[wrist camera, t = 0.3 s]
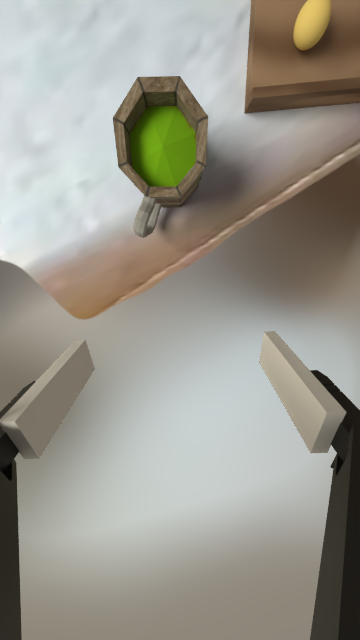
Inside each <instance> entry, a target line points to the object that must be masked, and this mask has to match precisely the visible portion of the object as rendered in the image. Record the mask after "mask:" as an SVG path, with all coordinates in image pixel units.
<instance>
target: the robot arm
mask: <svg viewBox="0 0 360 640" xmlns="http://www.w3.org/2000/svg"><path fill="white" fill-rule="evenodd" d="M260 364H261V366H262V368H263V370H264V371H265V373H266V375H267V377H268V378H269V380H270V382H271V384H272V386H273V387H274V389H275V391H276V393H277V394H278V396H279V398H280V400H281V401H282V403H283V405H284V407H285V409H286V410H287V412H288V414H289V416H290V417H291V419H292V421H293V422H294V424H295V426H296V428H297V430H298V431H299V433H300V435H301V437H302V438H303V440H304V442H305V444H306V445H307V447H308V449H309V451H310V453H327V452H328V450H329V448H330V446H331V445H332V446H333V448H334V449H335V451H336V452H337V455H336V457H335V459H334V461H333V463H332V465H331V468H334V470H333V477H332V484H331V492H330V500H329V506H328V513H327V520H326V528H325V535H324V542H323V550H322V558H321V564H320V571H319V579H318V587H317V594H316V601H315V608H314V616H313V622H312V629H311V637H310V640H360V410H359V409H358V408H357V407H356V406H355V405H354V404H353V403H352V402H351V401H350V400H349V399H348V398H347V397H346V396H345V395H344V394H343V393H342V392H340V390H339V389H338V387H337V386H336V385H334V383H333V382H332V381H331V380H330V379H329V378H328V377H327V376H325V375H323V374H322V373H321V372H319V371H317V370H313V371H310V370H309V369H308V368H307V367H306V366H305V365H304V364H303V362H302V361H301V360H300V359H299V358H298V357H297V356H296V355H295V353H294V352H293V351H292V350H291V349H290V348H289V347H288V345H286V343H285V342H284V341H283V340H282V339H281V338H280V336H279V335H278V334H277V333H276V332H275V331H273V332H264V336H263V343H262V350H261V356H260ZM93 371H94V365H93V362H92V359H91V356H90V353H89V349H88V346H87V343H86V340H75V341H74V342H73V343H72V344H71V345H70V346H69V348H67V349H66V351H65V352H64V353H63V354H62V355H61V356H60V357H59V358H58V359H57V360H56V361H55V362H54V363H53V364H52V365H51V366H50V367H49V368H48V370H47V371H46V372H45V373H44V374H43V375H42V376H41V377H40V378H39V379H38V380H37V381H33V382H32V383H30V384H29V385H27V386H26V387H25V388H23V389H22V391H20V392H19V393H18V395H17V397H15V398H14V399H13V400H12V401H11V403H9V404H8V405H7V406H6V407H5V408H4V409H3V410H2V411H1V412H0V640H21V608H20V575H19V544H18V543H19V539H18V508H17V507H18V506H17V475H16V474H17V473H16V462H15V460H14V458H15V457H16V455H17V454H18V452H20V454H21V455H22V456H23V458H24V459H39V458H40V456H41V455H42V453H43V451H44V450H45V448H46V447H47V445H48V443H49V442H50V440H51V438H52V437H53V435H54V434H55V432H56V431H57V429H58V427H59V425H60V424H61V422H62V421H63V419H64V418H65V416H66V414H67V413H68V411H69V410H70V407H71V406H72V405H73V403H74V402H75V400H76V398H77V397H78V395H79V393H80V391H81V390H82V389H83V387H84V385H85V384H86V382H87V381H88V379H89V377H90V376H91V374H92V372H93Z"/></svg>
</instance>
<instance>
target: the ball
mask: <svg viewBox="0 0 360 640" xmlns="http://www.w3.org/2000/svg"><path fill="white" fill-rule="evenodd" d="M330 16H331V0H307V2H306V3H305V4H304V5H303V7H302V9H301V10H300V12H299V14H298V17H297V19H296V22H295V26H294V33H293V38H294V43H295V45H296V47H297V48H298V49H300V50H308V49H310V48H311V47H313V46H314V45H315V44H316V43H317V42H318V41H319V40H320V38H321V37H322V35H323V34H324V32H325V30H326V28H327V26H328V23H329V20H330Z"/></svg>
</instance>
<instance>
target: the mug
mask: <svg viewBox="0 0 360 640" xmlns="http://www.w3.org/2000/svg"><path fill="white" fill-rule="evenodd" d="M113 123H114V132H115V140H116V149H117V157H118V166H119V168H120V169H121V170H122V171H123V172H124V174H125V175H126V176H127V177H128V178H129V179H130V180H131V181H132V182H133V183H134V184H135V185H136V187H137V188H138V189H139V190H140V191H141V192H142V193H143V194H144V198H143V201H142V204H141V206H140V208H139V210H138V212H137V215H136V218H135V222H134V228H133V229H134V231H135V233H136V235H138V236H139V237H143V238H144V237H146V236H147V235H149V234H151V233H152V232H153V231H154V229H155V226H156V223H157V219H158V216H159V212H160V209H161V207H181V206H182V205H183V204H184V203H185V202H186V201H187V199H188V198H189V197H190V196H191V195H192V194H193V192H194V191H195V190H196V189H197V188H198V182H199V180H200V179H201V173H202V170H203V169H204V168H205V167H206V152H207V128H208V116H207V114H206V113H205V112H204V110H203V109H202V107H201V106H200V104H199V103H198V102H197V100H196V99H195V97H194V96H193V94H192V93H191V92H190V90H189V89H188V87H187V86H186V84H185V83H184V82H183V80H182V79H181V77H180V76H168V77H138V78H137V79H136V81H135V82H134V84H133V86H132V87H131V89H130V91H129V92H128V94H127V96H126V97H125V99H124V101H123V102H122V104H121V106H120V107H119V109H118V110H117V112H116V114H115V115H114V117H113Z"/></svg>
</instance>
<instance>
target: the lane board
mask: <svg viewBox="0 0 360 640" xmlns="http://www.w3.org/2000/svg"><path fill="white" fill-rule="evenodd" d="M306 2H307V0H251V14H250V30H249V47H248V63H247V80H246V97H245V113H252V112H263V111H274V110H284V109H295V108H305V107H316V106H327V105H337V104H348V103H359V102H360V0H331V16H330V20H329V23H328V26H327V28H326V30H325V32H324V34H323V35H322V37H321V38H320V40H319V41H318V42H317V43H316V44H315V45H314V46H313V47H311V48H310V49H308V50H300V49H298V48H297V47H296V45H295V43H294V38H293V33H294V26H295V22H296V19H297V17H298V14H299V12H300V10H301V9H302V7H303V5H304V4H305V3H306Z"/></svg>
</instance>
